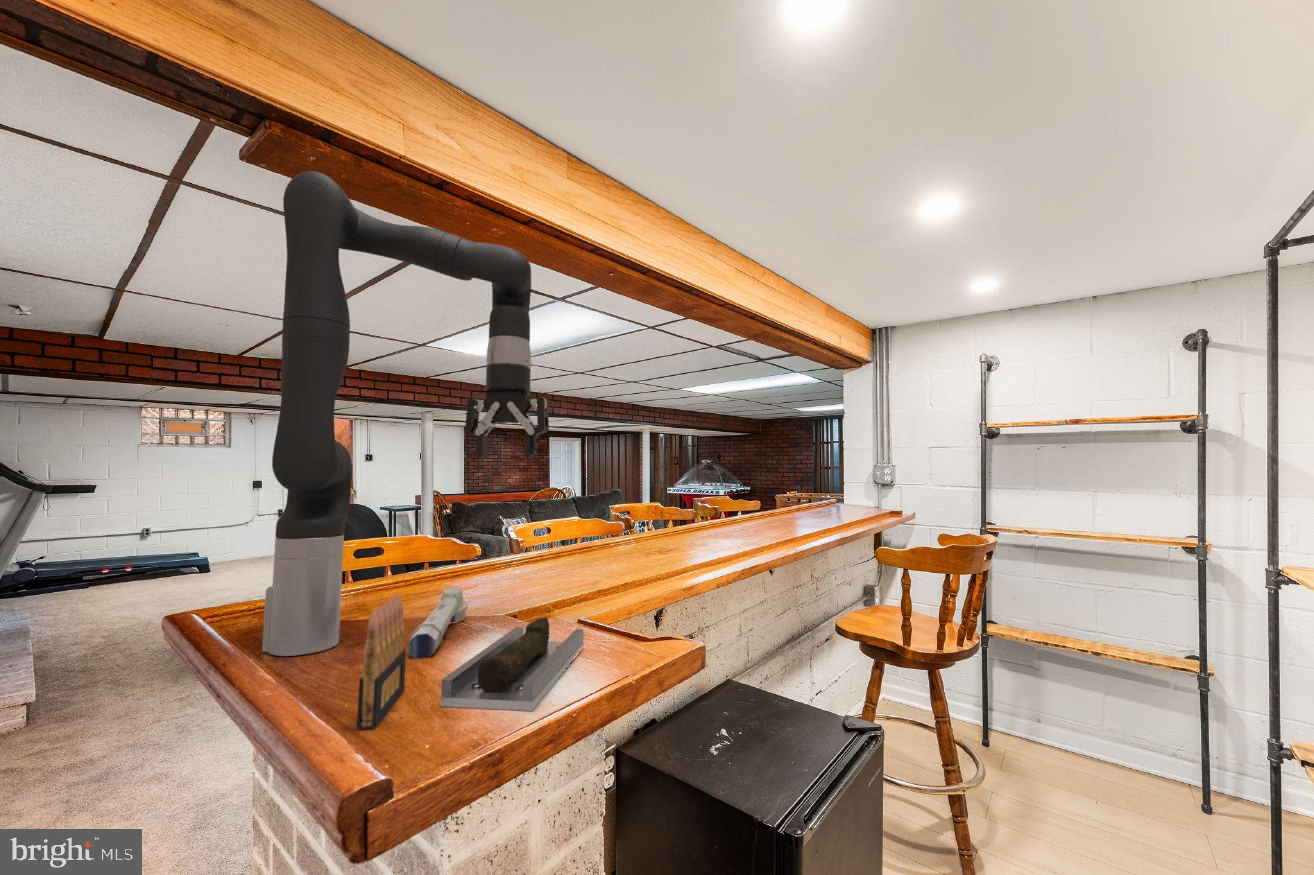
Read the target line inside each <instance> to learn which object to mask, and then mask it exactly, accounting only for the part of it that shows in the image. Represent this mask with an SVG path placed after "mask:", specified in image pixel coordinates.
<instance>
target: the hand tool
mask: <svg viewBox="0 0 1314 875" xmlns="http://www.w3.org/2000/svg"><path fill="white" fill-rule="evenodd" d="M549 639H550V622H549V619H548V618H547V617H540V618H537V619H535V620H534V621H532V622H529V623H528V624H527V625H526V626H525V632H524V633H523V636H521V637H520V638H519V639H517V640H516V641H514V642H513V643H512V644H510V645H509V646H507V647H506V648H504V649H503V650H502V651H501V652H499V653H498V654H496V655H495V656H493V657H491V659H486V660H482V661H481V663H480V666H479V668H478V683H479V685H480V686H481V688H482V690H484V691H500V690H504V689H505V688H507V686H508V685H509V684H510V683H511V680H512V678H513V676H514V675H516V674H517V673H518V672H519V671H520V670H521V669H522V668H524V667H525V666H527V664H528V663H529V662H530V661H531V660H532V659H533V658H534V657H541V656H543V655H544V653H545V652H546V649H547V647H548V641H549Z"/></svg>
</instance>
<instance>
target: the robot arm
mask: <svg viewBox="0 0 1314 875" xmlns="http://www.w3.org/2000/svg"><path fill="white" fill-rule="evenodd" d="M282 202H283V203H282V204H283V216H284V229H285V239H286V240H285V241H286V267H285V268H286V269H285V281H284V302H283V303H284V305H283V312H282V313H283V315H282V331H281V332H282V333H281V374H280V375H281V380H280V382H281V385H280V386H281V388H280V390H281V391H280V392H281V393H280V394H281V396H280V398H281V399H280V408H279V416H278V422H277V428H276V433H275V438H274V445H273V450H272V458H271V459H272V460H271V466H272V472H273V474H274V477H275V478H276V481H277V482H278V483H279V484H280V485H281V486H282V487H283V488H284V489H286V490H287V497H286V505H285V506H284V507H285V508H284V509H283V512H282V514H281V516H280V517H278V518H277V521H276V525H275V536H274V537H275V539H274V540H275V541H274V554H273V557H274V558H273V569H272V570H273V571H272V584H271V586H269V587H267V588H266V590H265V601H264V612H263V613H264V615H263V632H262V646H261V648H262V650H261V652H262V653H263V652H264V653H268V654H269V655H273V656H279V657H289V656H301V655H308V654H314V653H319V652H323V651H326V650H329V649H331V648H333V647H335V646H337V645H339V642H340V639H339V638H340V625H341V624H340V623H341V622H340V621H341V605H342V604H341V603H342V584H343V582H342V581H343V562H344V561H343V560H344V543H345V542H344V540H345V526H346V521H347V519H348V517H349V512H350V506H351V505H350V504H351V496H352V495H351V493H352V481H353V480H352V479H353V462H352V457H351V455H350V452H349V450H348V449H347V447H346V446H345V445H343V443H341V442H339V441H337V440H336V434H335V405H336V400H337V395H338V392H339V388H340V386H341V384H342V380H343V378H344V375H345V371H346V369H347V365H348V362H349V361H348V360H349V353H350V339H351V338H350V336H351V335H350V334H351V332H350V331H351V320H350V309H349V306H348V299H347V295H346V291H345V286H344V281H343V278H342V274H341V266H340V250H346V251H353V252H359V253H360V252H361V253H364V254H365V253H366V254H371V255H374V256H379V257H384V258H389V259H392V260H397V261H400V262H403V263H408V264H411V265H414V266H417V267H420V268H423V269H427V270H429V271H433V272H435V273H438V274H441V275H445V276H448V277H450V278H454V279H456V280H461V281H465V282H466V281H468V282H469V281H472V279H477V280H482V281H486V282H490V283H491V287H492V288H491V294H492V296H491V297H492V300H491V306H492V308H491V311H490V314H489V322H488V323H489V325H488V342H487V348H486V368H485V369H486V370H485V371H486V373H485V375H486V376H485V396H484V397H485V398H483V399H475V398H472V397H469V398H468V399H467V404H466V413H465V414H466V415H465V425H464V426H465V427H464V430H465V432H466V433H471V434H473V435H474V436H475V453H476V455H477V456H478V458H479V459H480V458H481V459H487V458H488V455H489V454H488V453H489V452H488V450H489V448H488V447H489V445H488V444H489V437H488V434H489V433H490V431H492V429H493V428H494V427H496V426H497V424H502V425H505V424H508V423H512V424H520V425H521V427H523V429H524V430H525V432H526V433H527V434H528V435H526V436H525V438H526V440H525V458H527V459H534V458H535V456H536V455H537V454H538V438H539V436H540V435H542V434H544V433H548V432H549V430H550V423H549V421H550V420H549V402H548V399H546V398H544V397H541V396H538V397H537V398H531V395H530V394H531V373H532V372H531V367H532V358H531V357H532V354H531V351H532V350H531V342H530V340H531V339H530V338H531V321H530V320H531V319H530V304H531V295H532V294H531V293H532V267H531V263H530V261H529V260H528V257H526V256H525V255H524V254H523V253H521V252H520V251H518V250H516V249H515V248H512V247H509V246H505V245H501V244H495V243H487V242H481V241H473V240H469V239H467V238H464V237H461V236H458V235H456V234H452V233H449V232H446V231H444V230H441V229H437V228H433V227H429V226H420V225H404V224H403V225H402V224H396V223H391V222H388V221H384V220H382V219H378V218H376V217H373V215H370V214H368V213H365V212H363V211H361V210H360V209H358V208H357V207H355V206H354V205H353V203H352V201H351V200H350V199H349V197H348V195H347V194H346V192H345V191H344V190H343V189H342V187H341V186H340V185H339V184H338V183H337V182H336V181H334V179H332V178H331V177H329V176H328V175H326V174H324V173H322V172H319V171H313V170H309V171H307V170H306V171H303V172H300V173H299V174H296V175H295V176H293V178H291V180H290V181H288V184H287V185H286V187H285V190H284V193H283V201H282ZM532 406H533V409H534V410H535V411H536V416H537V418H536V419H537V426H535V424H534V422H533V420H532V419H531V417H530V416H529V414H528V412H529V411H530V410H531V408H532ZM483 408H484V409H485V411H487V412H486V414H485V415H484V416H483V418H482V419H481V420H480V412H482V410H483ZM479 420H480V421H481V422H479Z"/></svg>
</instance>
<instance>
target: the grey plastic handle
mask: <svg viewBox="0 0 1314 875" xmlns="http://www.w3.org/2000/svg"><path fill="white" fill-rule="evenodd" d="M440 597H441V598H440V602H439V603H438V604H437V606H436V607H435V608H434V609H433V610H432V612H431V613H430V614H429V615H428V616H427V618H426V619H425V620H424V621H423V623H420V624H419V625H418V626H417V627H416V628H415V629H414V630H413V631H412V633H411V638H410V639H409V641H408V642H407V654H408V655H409V656H410V657H412V658H413V659H427V658H428V659H429V658H430V657H431V656H432V655H433V654H434V653H435V652H436V650H437V649H438V647H440V646H441V645H442V643H443V636H444V634H445V633H446V630H447V628H448V626H449V625H450V624H449V622H458V621H460V620H463V619H464V618H465V619H466V612H467V609H468V603H467V602H466V601H465V600H464V593H463V590H462V588H461V587H458V586H454V587H453V586H452V587H447V588H445V589H444V590H443V591H442V594H441V596H440ZM460 622H461V621H460Z"/></svg>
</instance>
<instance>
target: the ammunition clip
mask: <svg viewBox="0 0 1314 875" xmlns="http://www.w3.org/2000/svg"><path fill="white" fill-rule="evenodd" d="M403 607H404V606H403V600H402V597H401V594H400V593H397V595H396V596H393V597H392V599H388V601H387V603H386V602H384V603H383V604H382V606H378V608H377V609H376V610H374V609H373V610H372V612H371V614H370V617H369V619H368V623H367V631H366V638H365V647H364V651H363V662H362V664H363V665H362V676H361V677H360V679H359V684H358V685H359V686H358V702H357V703H358V704H357V714H356V715H357V719H356V731H363V730H364V731H365V730H375V729H377V728H378V727H379V726H380V723H381V722H382V721H383V720H384V719H385V717H386V716H387V715H388V713H389V712H390V710H392V708H393V707H394V705H395V704H396V703H397V702H398V700H399V699H400V698H401V696H402V695H403V694H404V692H405V683H406V682H405V679H406V678H405V677H406V675H405V674H406V654H407V653H406V649H405V647H404V645H405V643H404V641H405V627H404V626H405V625H404V608H403Z"/></svg>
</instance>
